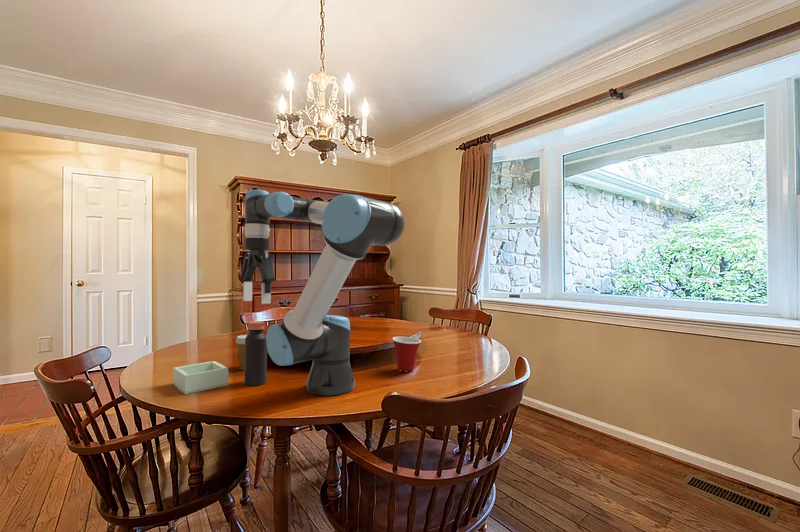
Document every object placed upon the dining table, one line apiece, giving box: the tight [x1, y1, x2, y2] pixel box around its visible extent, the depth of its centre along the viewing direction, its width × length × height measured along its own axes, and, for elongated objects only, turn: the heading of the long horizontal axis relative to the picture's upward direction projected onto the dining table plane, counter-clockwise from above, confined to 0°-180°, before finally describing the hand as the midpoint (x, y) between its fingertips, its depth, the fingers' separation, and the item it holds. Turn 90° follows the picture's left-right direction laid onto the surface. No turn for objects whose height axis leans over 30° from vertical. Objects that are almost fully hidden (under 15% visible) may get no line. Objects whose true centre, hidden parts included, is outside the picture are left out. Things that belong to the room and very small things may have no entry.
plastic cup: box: [392, 336, 422, 371], centre depth 137 cm, size 11×11×12 cm
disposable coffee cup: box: [235, 334, 248, 371], centre depth 138 cm, size 10×10×12 cm
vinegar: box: [243, 320, 268, 387], centre depth 120 cm, size 7×7×20 cm
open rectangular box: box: [172, 360, 229, 395], centre depth 118 cm, size 12×12×6 cm
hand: (256, 302), depth 121 cm, fingers open, 13 cm apart
